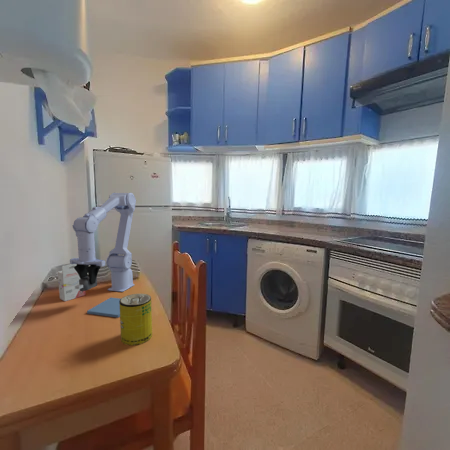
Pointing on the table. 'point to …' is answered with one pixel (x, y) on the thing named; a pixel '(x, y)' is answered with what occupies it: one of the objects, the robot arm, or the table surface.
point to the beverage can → (135, 319)
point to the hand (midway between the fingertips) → (88, 283)
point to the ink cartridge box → (69, 283)
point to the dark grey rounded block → (85, 284)
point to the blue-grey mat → (107, 308)
